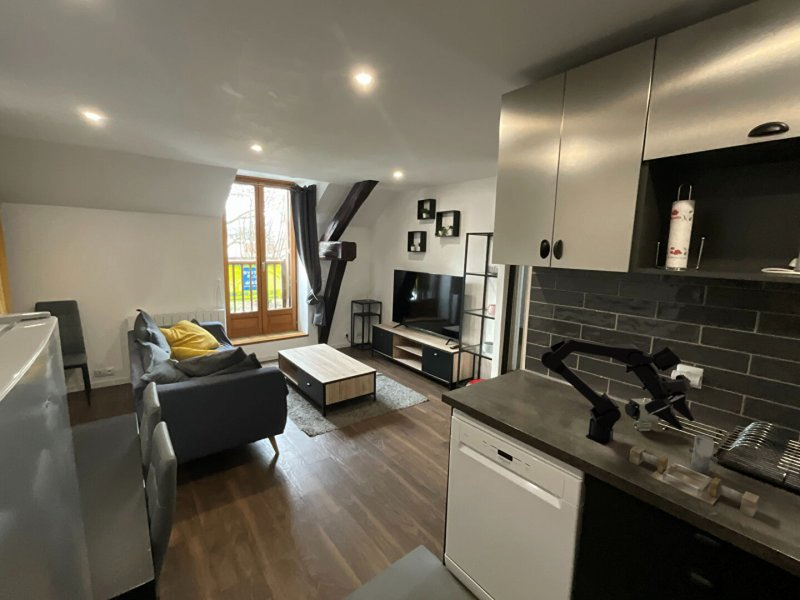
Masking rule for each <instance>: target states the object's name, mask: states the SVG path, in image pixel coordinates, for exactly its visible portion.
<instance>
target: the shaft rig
mask: <svg viewBox="0 0 800 600" xmlns="http://www.w3.org/2000/svg"><path fill="white" fill-rule="evenodd" d="M629 450H630V451H629V459H628V460H629V463H631V464H634V465H637V466H639V465H640V464H641V463H642V462H646V463H648V464H651V465H653V466H656V467H657V470H655V472H653V473H652V474H651V475H650V478H653V479H655V480H657V481H659V482H661V483H663V484H665V485H667V486H669V487H672V488H674V489H676V490H678V491H681V492H683V493H685V494H687V495H689V496H691V497H693V498H695V499H698V500H700V501H702V502H704V503H706V504H708V505H710V506H714V504H715V503H716V502H717V500H718V499H719V498H720V497H721V496H724V497H725V498H727V499H730V500H733V501H735V502H737V503H739V504H740V508H739V512H740V513H742V514H745V515H746V516H749V517H751V518H754V516H755V515H756V513H757V510H758V506H759V501H760V496H759V495H757V494H754V493H752V492H749V491H745V493H742V492H740V491H738V490H736V489H732V488H730V487H728V486H726V485H723V484H721V483H722V479H721V478H718V477H716V476H715V477H714V478H713V477H710V476H708V475H705V474H701V473H699V472H696V471H694V470H692V469H691V468H688V467H687V466H685V465H684V466H683V465H682V464H679V463H677V462H674V463H673V464H671V465H668V463H669V457H667V456H666V455H663V456H662V457H660V458H659V457H657V456H655V455H653V454H649V453H647V452H645V451H646V450H645V448H644V447H641V446H639V445H634V446H633V447H632V448H631V449H629Z"/></svg>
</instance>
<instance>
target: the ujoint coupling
mask: <svg viewBox="0 0 800 600" xmlns="http://www.w3.org/2000/svg"><path fill="white" fill-rule="evenodd" d="M714 446H715V440H714V439H713V438H711V437H709V436H706V435H703V434H696V435H695V436H694V442H693V447H690V448H689V450H688V452H690V453H691V454H692V456H691V462H690V469H691V470H694V471H696V472H699V473H701V474H703V475H706V476H708V475H710V474H709V473H710V472H711V466H712V462H715V463H716V462H718V461H719V459H718V457H716V456H713V453H714Z"/></svg>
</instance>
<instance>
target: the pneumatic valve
mask: <svg viewBox="0 0 800 600" xmlns="http://www.w3.org/2000/svg"><path fill="white" fill-rule="evenodd" d="M652 398H653V397H651V398H647V397H643V398H629V399H628V401H627V403H625V405H624V411H625V414H626V415H627V416H628V417H630V418H632V419H633V420H634V421H633V422H632V423H633V428H635V429H636V430H638V431H639V432H651V428H652V422H650V421H660V420H661V418H659V417H657V416H655V415H652V414H653V413H654V412H652V413H650V414H649V413H648V412H647V411H646V410H645V404H647V403H648V402H650V401H652V400H651V399H652Z"/></svg>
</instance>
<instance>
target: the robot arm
mask: <svg viewBox="0 0 800 600" xmlns="http://www.w3.org/2000/svg"><path fill="white" fill-rule="evenodd" d="M573 352H577V353H584V354H589V355H595V356H600V357H607V358H611V359H613V360H616V361H618V362H620V363H624V364H626V365H625V368H626V369H625V374H627V375H628V374H630V373H633V375H634V376H635V377H636V378H637V380H638V381H639V383H640V384H642V387H641V389H642V390H643V391H646V392H648V394H649V395H650V396H651V398H652V399H651V400H652V401H650V402H648V403H647V404H645V410H646V411H647V412H648V413H649V414H650V413H652V412H654V413H653V414H652V415H655V416H657V417H659V418H660V420H663V421H664V422H666V423H668V424H670V425H671V426H672V427H675V429H677V430H680V431H681V430H683V429H684V426H683V425H682V423H681V422H680V420H679V419H678V416H677V415H676V414H675V413H674V410H675V411H677V413H679V414H680V415H681V416H683V417H684V418H685V419H686V420H688V421H690V422H693V421H695V418H694V415H693V413H692V412H691V409H690V407H689V404H688V397H689V394H688V393H689V390H691V389H692V386H691V384H690V383H691V382H692V381H691V379H689V377H686V375H685V374H678V375H675V378H672V379H669V380H668V378H666V377H665V376H660V374H659V373H658V372H660V371H661V372H663V373H665V372H667V371H668V370H671V369H673V368H674V367H677V366H678V365H681V364H682V363H683V362H682V360H681V359H680V358H679V356H678V355H676V354H675V353H674V351H672V350H671V349H670V348H669V346H667V345H663V346H661V347H659V348H658V349H657V350H655V351H653V352H651V353H649V352H647V351H644V350H642V349H640V348H638V347H636V345H634V344H631V343H615V344H608V343H603V342H597V341H590V340H585V339H579V338H574V337H571V336H570V337H566V338H565V339H563V340H561V341H559V342H555V343H553V344H552V345H550V346H548V347H547V346H546V347H543V348H542V349H541V350H540V351H539V359H540V361H541V364H542V366H544V367H545V368H547V369H548V370H550V371H551V372H554V373H555V374H558V375H559V376H560V377H562V378H563V379H564V380H565V381H566V382H567V383H568V384H570V385H571V386H572V387H573V388H574V389H575V390H576V391H577V392H578V393H580V394H581V395H582V396H583V397H584V398H585V399H587V401H588V402H590V404H592V406H593V407H592V408H591V409H589V414H590V416H591V418H590V419H589V425H588V433H587V434H585V438H588V439H589V440H592V441H595V442H597V443H598V444H601V445H603V446H605V445H607V444H609V443H610V442H612V441H613V440H614V431H615V430H614V428H613V427H614V425H615V424H616V422H618V421H620V420H621V417H622V412H621V410H620V407H619V405H618V404H617V402H616V401H615V400H614V398H611V397H610V396H608V394H607V393H606V392H605V391H604V392H603V393H602V394H601V393H599V392H597V391H596V390H595V389H594V388H593V387H592V386H590V385H589V384H588V383H587V382H586V381H585V380H584V379H583V378H581V377H580V376H579V375H578V374H577V373H576V372H575V371H573V369H572V368H570V367H569V366H568V365H567V364H566V362H564V360H565V359H566V358H567V357H568V356H569V355H570V354H572V353H573ZM656 370H657V371H658V372H657V371H656Z"/></svg>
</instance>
